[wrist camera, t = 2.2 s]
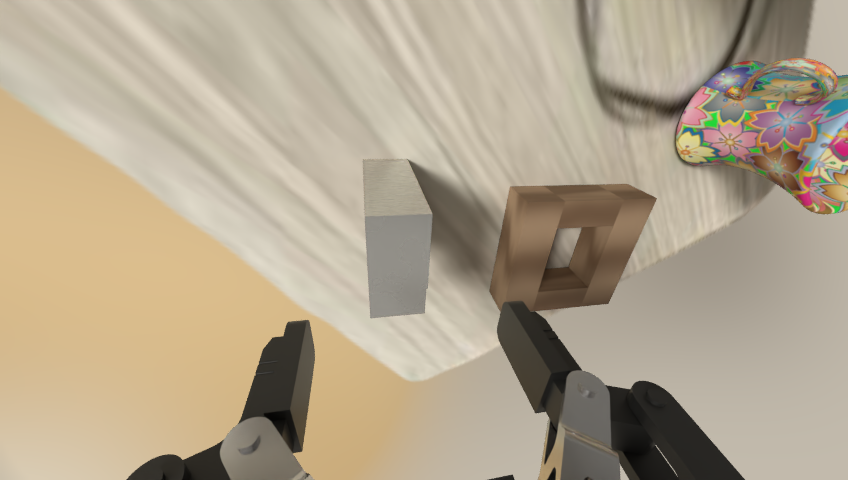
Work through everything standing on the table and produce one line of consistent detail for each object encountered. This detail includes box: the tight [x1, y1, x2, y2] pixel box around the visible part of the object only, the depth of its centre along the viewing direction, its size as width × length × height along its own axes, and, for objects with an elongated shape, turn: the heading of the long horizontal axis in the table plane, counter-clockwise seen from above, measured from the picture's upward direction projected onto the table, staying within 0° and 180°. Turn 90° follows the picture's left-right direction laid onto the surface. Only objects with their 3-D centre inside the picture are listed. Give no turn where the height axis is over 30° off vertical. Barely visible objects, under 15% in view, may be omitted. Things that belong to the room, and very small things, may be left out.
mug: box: [676, 58, 848, 214], centre depth 23 cm, size 12×9×11 cm
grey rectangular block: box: [363, 159, 433, 318], centre depth 22 cm, size 7×4×10 cm, turn 177°
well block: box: [489, 184, 657, 312], centre depth 30 cm, size 12×12×4 cm
